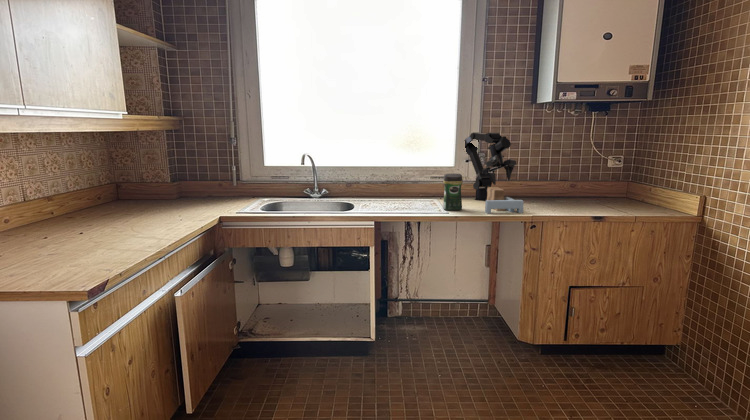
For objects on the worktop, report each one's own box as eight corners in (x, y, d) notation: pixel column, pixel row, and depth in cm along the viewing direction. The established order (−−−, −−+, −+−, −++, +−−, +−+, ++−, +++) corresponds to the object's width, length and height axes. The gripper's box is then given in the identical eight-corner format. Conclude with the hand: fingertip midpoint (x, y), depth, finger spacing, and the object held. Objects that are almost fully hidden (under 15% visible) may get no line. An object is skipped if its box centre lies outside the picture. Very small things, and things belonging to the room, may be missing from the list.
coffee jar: (459, 208, 229) (461, 172, 226) (463, 211, 222) (464, 174, 218) (441, 208, 229) (442, 172, 226) (444, 211, 221) (445, 174, 218)
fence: (479, 208, 227) (480, 197, 226) (514, 208, 228) (514, 196, 227) (486, 213, 215) (487, 201, 214) (522, 212, 216) (523, 200, 215)
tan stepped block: (486, 205, 237) (487, 186, 235) (495, 205, 237) (496, 186, 235) (496, 211, 221) (497, 191, 219) (505, 210, 221) (507, 191, 219)
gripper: (473, 158, 240) (478, 186, 237) (501, 147, 226) (506, 176, 223) (486, 160, 247) (491, 187, 244) (514, 149, 232) (519, 178, 229)
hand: (501, 182), depth 235 cm, fingers open, 9 cm apart
